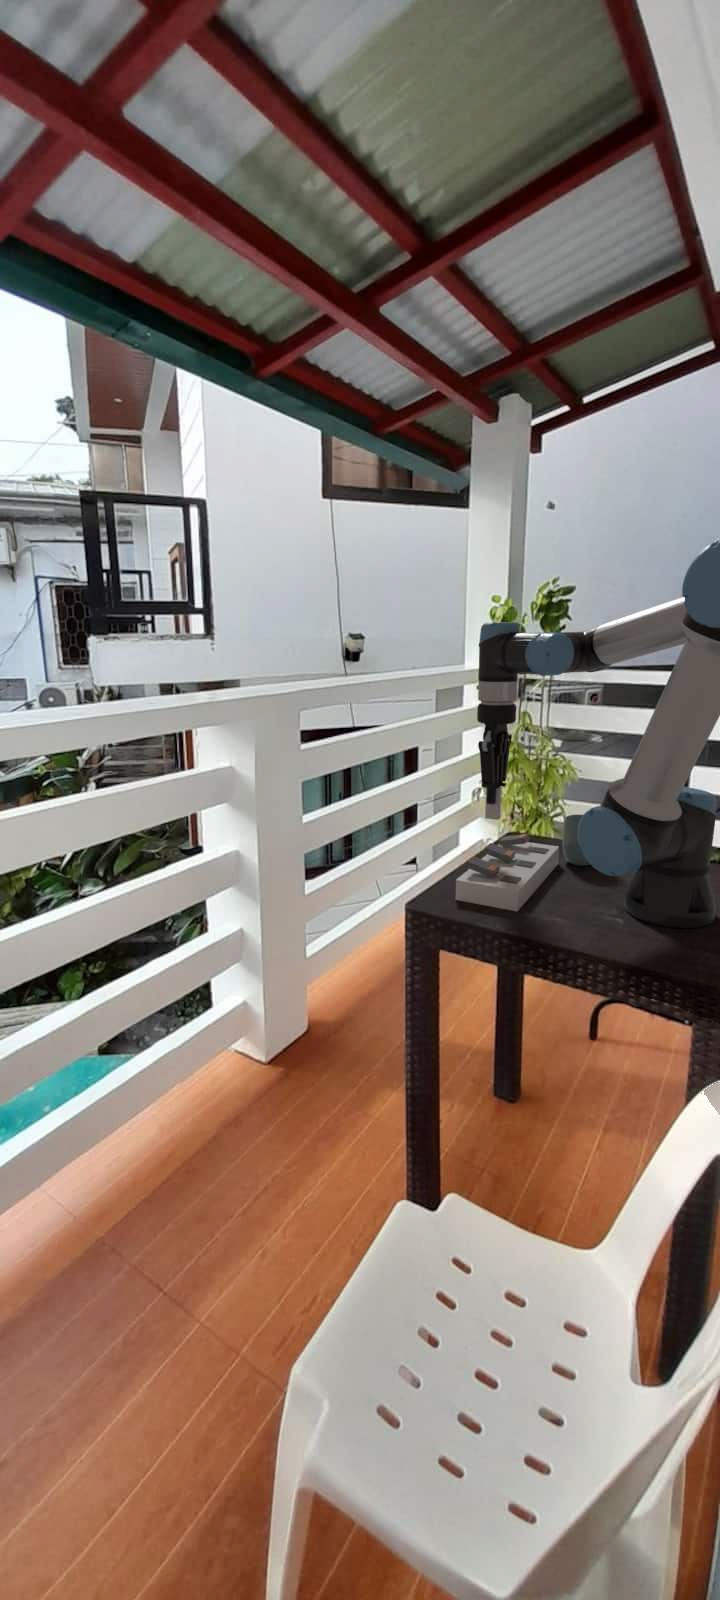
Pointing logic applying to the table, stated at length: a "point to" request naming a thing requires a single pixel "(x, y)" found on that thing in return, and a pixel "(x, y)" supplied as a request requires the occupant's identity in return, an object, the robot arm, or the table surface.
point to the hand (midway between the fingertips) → (492, 818)
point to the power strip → (509, 877)
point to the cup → (573, 841)
